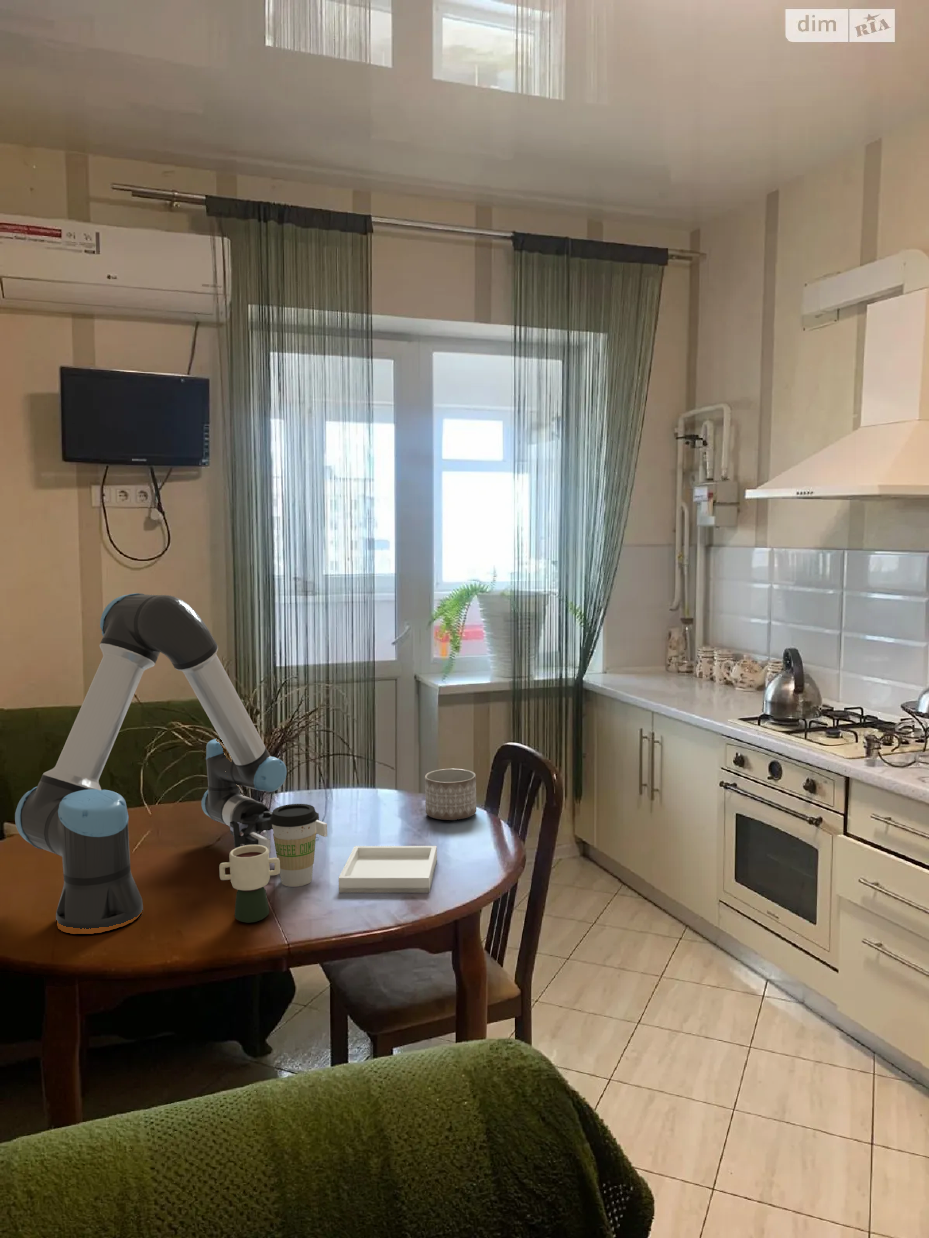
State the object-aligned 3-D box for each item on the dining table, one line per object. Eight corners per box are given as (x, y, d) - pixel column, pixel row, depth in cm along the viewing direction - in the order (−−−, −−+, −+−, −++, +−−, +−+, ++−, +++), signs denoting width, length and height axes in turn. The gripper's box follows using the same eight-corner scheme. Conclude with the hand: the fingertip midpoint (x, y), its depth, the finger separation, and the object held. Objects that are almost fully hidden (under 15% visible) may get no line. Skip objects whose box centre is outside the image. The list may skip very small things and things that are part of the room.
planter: (415, 816, 225) (414, 775, 224) (452, 804, 234) (451, 765, 233) (449, 827, 216) (448, 785, 215) (486, 815, 225) (486, 774, 224)
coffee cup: (283, 894, 178) (280, 820, 177) (265, 878, 186) (261, 808, 185) (328, 882, 183) (325, 811, 182) (309, 868, 192) (306, 799, 190)
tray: (429, 892, 177) (428, 877, 177) (339, 892, 178) (338, 877, 178) (437, 859, 195) (436, 845, 195) (355, 859, 196) (354, 846, 196)
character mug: (281, 907, 172) (279, 841, 170) (282, 923, 165) (279, 854, 164) (223, 913, 170) (219, 847, 168) (220, 929, 163) (217, 860, 161)
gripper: (295, 818, 209) (348, 840, 193) (194, 845, 192) (243, 872, 176) (294, 787, 208) (347, 806, 192) (193, 811, 191) (242, 835, 176)
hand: (298, 838), depth 184 cm, fingers open, 13 cm apart
